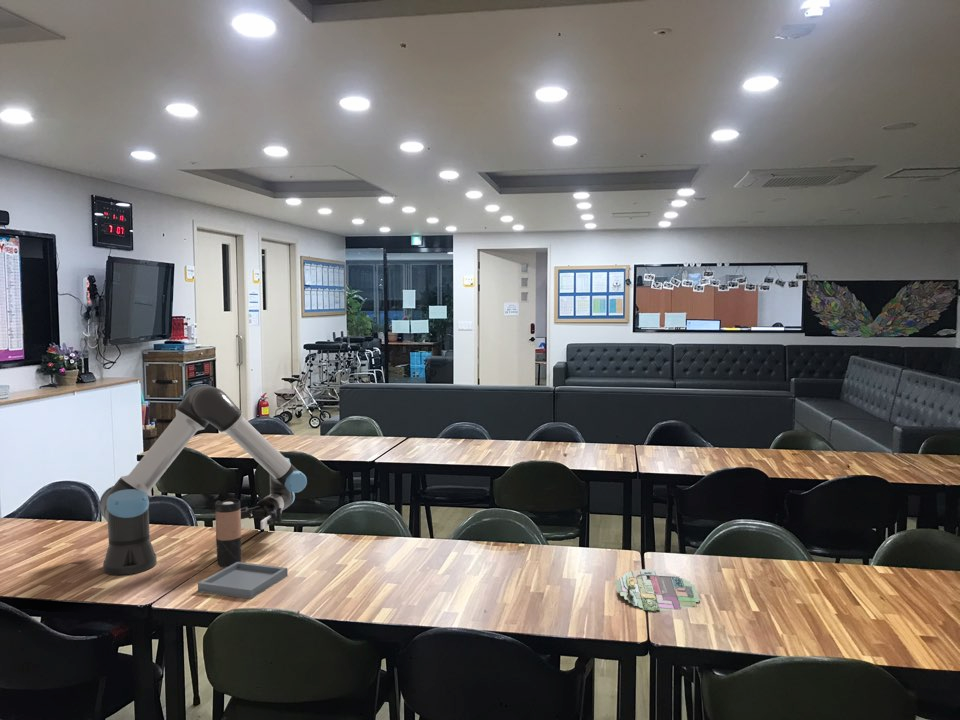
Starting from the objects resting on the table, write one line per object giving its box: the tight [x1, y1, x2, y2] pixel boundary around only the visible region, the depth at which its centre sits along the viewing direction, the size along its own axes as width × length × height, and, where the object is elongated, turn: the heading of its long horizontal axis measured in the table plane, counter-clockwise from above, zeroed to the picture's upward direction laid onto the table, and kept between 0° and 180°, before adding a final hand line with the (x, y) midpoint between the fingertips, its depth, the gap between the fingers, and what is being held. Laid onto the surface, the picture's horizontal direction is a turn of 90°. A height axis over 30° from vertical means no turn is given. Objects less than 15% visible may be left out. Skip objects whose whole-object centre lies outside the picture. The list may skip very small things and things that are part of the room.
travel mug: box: [214, 498, 242, 568], centre depth 225 cm, size 8×8×20 cm
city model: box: [615, 568, 701, 613], centre depth 198 cm, size 25×23×6 cm
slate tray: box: [197, 561, 289, 600], centre depth 208 cm, size 18×18×2 cm
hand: (242, 524), depth 233 cm, fingers open, 13 cm apart
